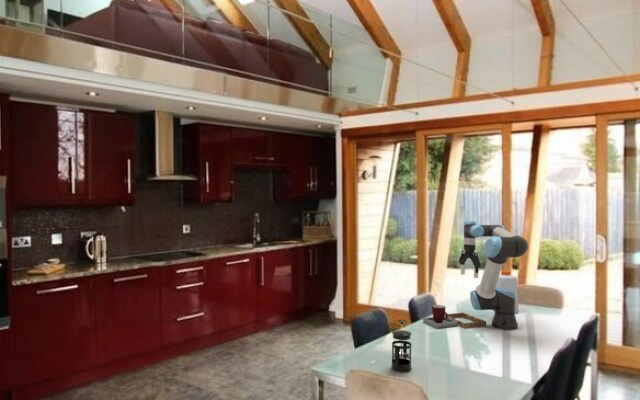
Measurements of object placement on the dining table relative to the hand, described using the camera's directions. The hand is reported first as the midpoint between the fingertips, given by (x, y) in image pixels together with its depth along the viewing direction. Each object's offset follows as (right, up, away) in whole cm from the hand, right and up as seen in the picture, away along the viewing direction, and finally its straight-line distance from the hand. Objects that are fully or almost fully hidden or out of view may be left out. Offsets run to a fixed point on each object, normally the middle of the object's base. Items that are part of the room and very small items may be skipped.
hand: (469, 276), depth 332 cm
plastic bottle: (+29, -27, +14) cm, 42 cm away
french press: (-61, -29, -97) cm, 118 cm away
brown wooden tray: (-8, -27, -15) cm, 32 cm away
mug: (-24, -26, -20) cm, 41 cm away
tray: (-24, -27, -20) cm, 42 cm away
